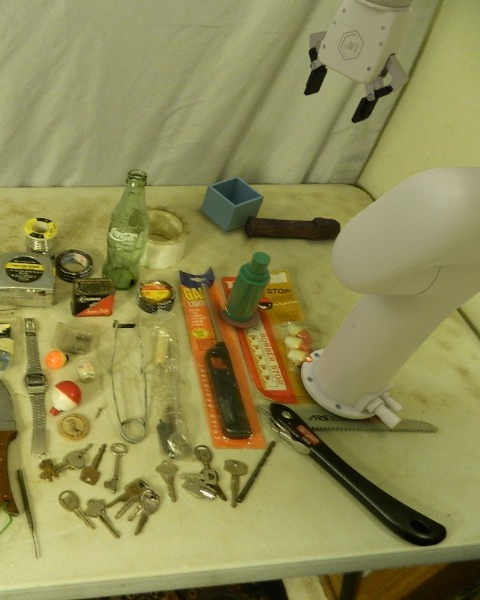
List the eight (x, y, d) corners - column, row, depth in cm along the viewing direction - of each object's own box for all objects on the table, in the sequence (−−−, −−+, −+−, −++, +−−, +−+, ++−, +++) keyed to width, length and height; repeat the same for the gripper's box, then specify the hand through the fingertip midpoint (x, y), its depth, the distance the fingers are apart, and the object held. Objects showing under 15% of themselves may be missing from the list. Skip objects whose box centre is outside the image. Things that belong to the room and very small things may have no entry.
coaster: (267, 319, 91) (268, 318, 91) (237, 334, 88) (238, 332, 88) (239, 293, 95) (240, 292, 95) (210, 306, 92) (210, 305, 92)
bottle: (259, 315, 91) (284, 262, 82) (238, 326, 89) (261, 272, 80) (239, 297, 94) (261, 243, 85) (218, 306, 92) (239, 252, 83)
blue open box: (254, 222, 110) (264, 196, 105) (225, 233, 106) (235, 207, 102) (228, 201, 114) (237, 175, 109) (200, 211, 111) (207, 185, 106)
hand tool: (246, 240, 105) (253, 222, 102) (242, 227, 108) (249, 209, 105) (339, 248, 106) (349, 230, 103) (333, 235, 109) (343, 217, 105)
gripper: (319, -27, 76) (278, 88, 89) (426, 16, 67) (363, 138, 80) (352, -32, 79) (308, 79, 92) (459, 8, 70) (393, 127, 83)
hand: (333, 106), depth 86 cm, fingers open, 9 cm apart
